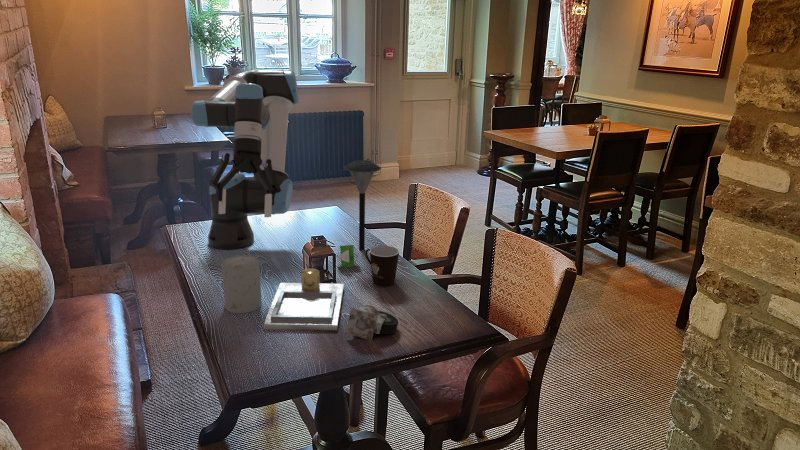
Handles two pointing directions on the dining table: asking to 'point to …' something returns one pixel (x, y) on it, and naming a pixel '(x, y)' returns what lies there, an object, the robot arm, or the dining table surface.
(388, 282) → the coffee mug
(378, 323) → the caster wheel
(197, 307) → the dining table surface
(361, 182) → the solar garden light
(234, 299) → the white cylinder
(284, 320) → the carrier plate
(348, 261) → the geometric puzzle
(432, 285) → the dining table surface
